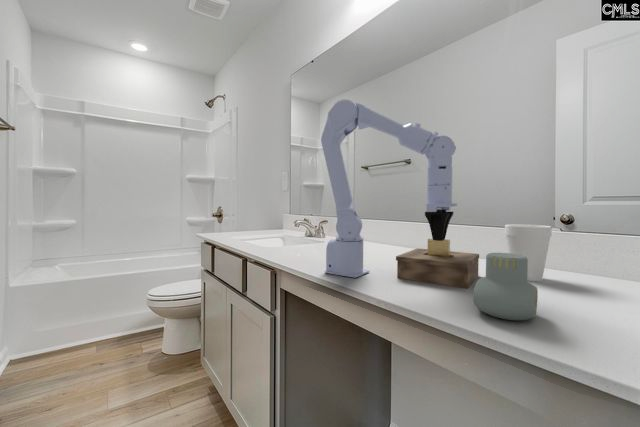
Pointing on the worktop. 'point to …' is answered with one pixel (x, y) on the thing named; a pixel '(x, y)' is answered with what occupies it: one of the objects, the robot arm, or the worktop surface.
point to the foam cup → (530, 246)
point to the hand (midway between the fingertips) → (438, 240)
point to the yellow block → (439, 247)
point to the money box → (438, 267)
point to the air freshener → (506, 288)
